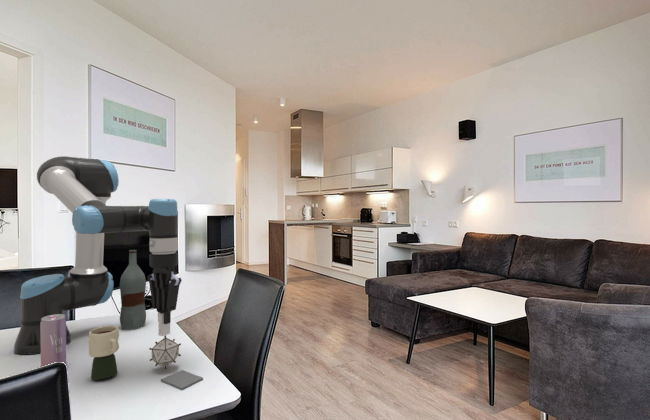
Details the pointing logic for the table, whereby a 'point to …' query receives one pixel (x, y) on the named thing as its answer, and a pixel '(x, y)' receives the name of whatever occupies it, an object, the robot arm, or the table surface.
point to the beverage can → (53, 339)
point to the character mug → (103, 351)
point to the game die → (165, 352)
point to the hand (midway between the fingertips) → (164, 334)
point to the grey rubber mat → (181, 379)
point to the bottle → (132, 295)
